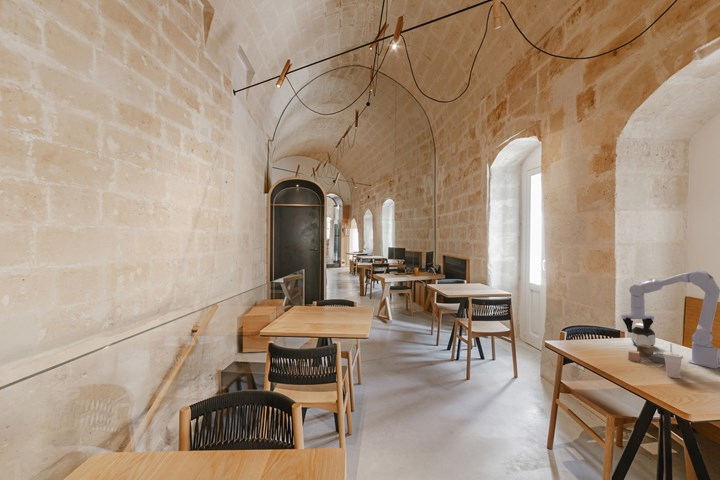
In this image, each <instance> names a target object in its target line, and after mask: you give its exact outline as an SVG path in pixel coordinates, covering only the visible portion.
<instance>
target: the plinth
mask: <svg viewBox="0 0 720 480" xmlns="http://www.w3.org/2000/svg"><path fill="white" fill-rule="evenodd" d="M650 361H652V362H656V363H660V364H664V365H663V366H666V365H665V358H664V355H663V353H661V352H655V353H653V355H651V357H650Z"/></svg>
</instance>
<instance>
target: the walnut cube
mask: <svg viewBox="0 0 720 480" xmlns="http://www.w3.org/2000/svg"><path fill="white" fill-rule="evenodd" d="M636 351H639V352H640V357H644V358H650V359H651V355H653V354H654V346H649V345H645V344H639V345H636Z"/></svg>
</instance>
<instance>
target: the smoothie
mask: <svg viewBox="0 0 720 480" xmlns="http://www.w3.org/2000/svg"><path fill="white" fill-rule="evenodd" d="M669 348H670V349H669V350H670V351H663V352H662V354H663V355H664V358H665V365H664V366H665V370H666V376H667V377H670V378H674V379H678V378H680V372H681V366H682V359H684V356H683V354H680V353H677V352H673V344H672V343H670V347H669Z"/></svg>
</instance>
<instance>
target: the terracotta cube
mask: <svg viewBox="0 0 720 480" xmlns="http://www.w3.org/2000/svg"><path fill="white" fill-rule="evenodd" d="M627 357H628V360H629V361H634V362H639V363H640V361H641V356H640V352H639V351H637V350H633V349H629V350H628V356H627Z"/></svg>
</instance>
